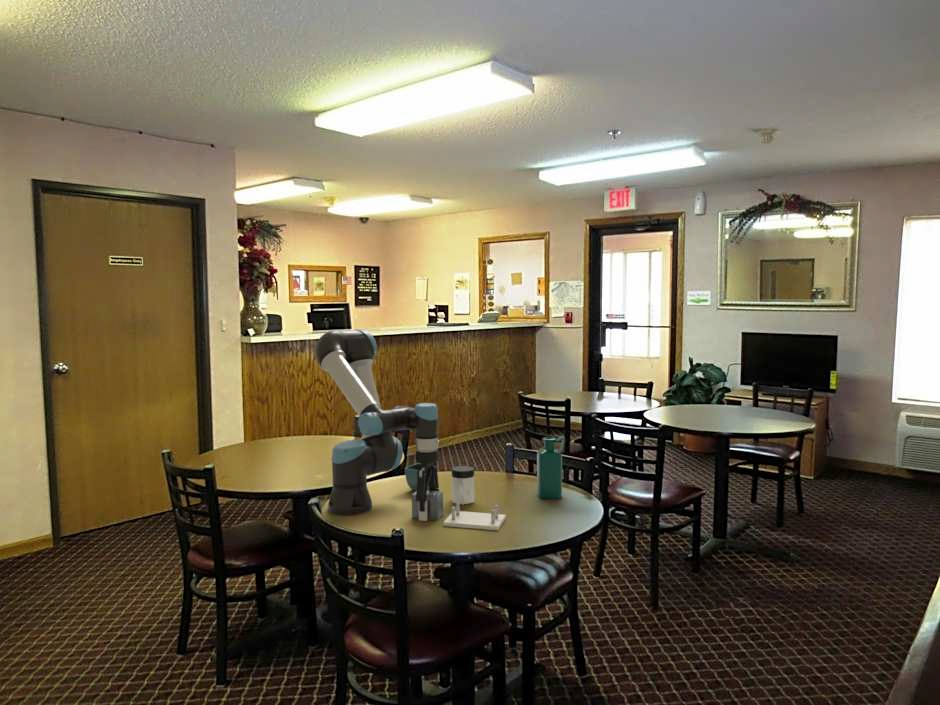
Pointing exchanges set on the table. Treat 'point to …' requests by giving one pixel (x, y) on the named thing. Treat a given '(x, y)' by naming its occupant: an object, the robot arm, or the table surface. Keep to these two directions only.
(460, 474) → the jar
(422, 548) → the table surface
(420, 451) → the robot arm
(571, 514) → the table surface
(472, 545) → the table surface
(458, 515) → the pin tray
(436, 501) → the block
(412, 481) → the flower pot
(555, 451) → the pitcher
